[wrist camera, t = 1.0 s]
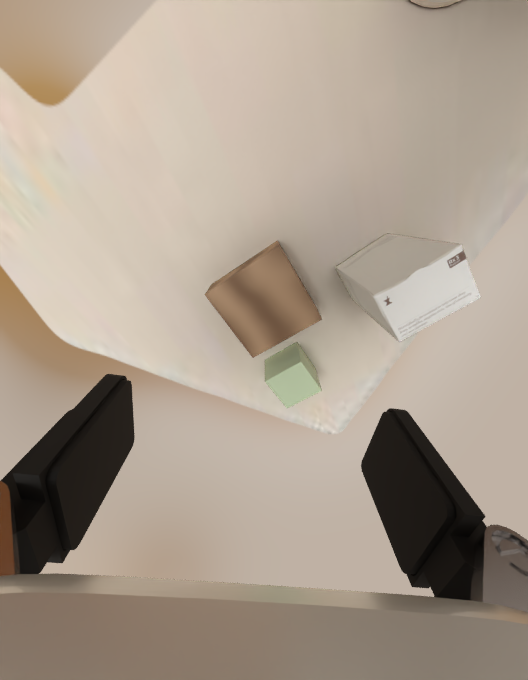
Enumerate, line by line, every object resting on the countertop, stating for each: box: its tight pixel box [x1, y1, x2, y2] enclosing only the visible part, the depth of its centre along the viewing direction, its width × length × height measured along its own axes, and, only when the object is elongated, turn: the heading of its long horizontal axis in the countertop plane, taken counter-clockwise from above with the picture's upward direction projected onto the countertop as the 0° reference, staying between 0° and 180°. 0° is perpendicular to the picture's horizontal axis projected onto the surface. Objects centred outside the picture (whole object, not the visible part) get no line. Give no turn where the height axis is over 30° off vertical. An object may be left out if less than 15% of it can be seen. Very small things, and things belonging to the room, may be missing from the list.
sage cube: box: [265, 342, 322, 408], centre depth 42 cm, size 6×6×6 cm
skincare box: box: [335, 233, 480, 342], centre depth 31 cm, size 8×6×15 cm
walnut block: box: [205, 241, 322, 357], centre depth 37 cm, size 11×11×5 cm
